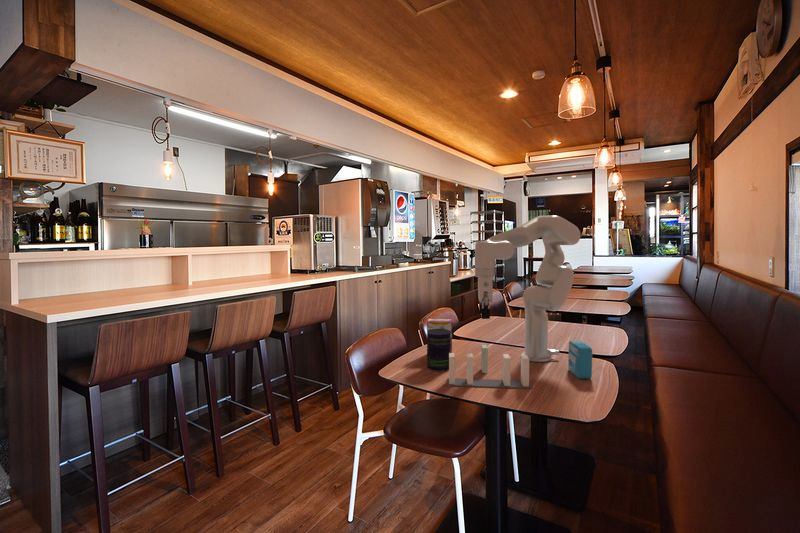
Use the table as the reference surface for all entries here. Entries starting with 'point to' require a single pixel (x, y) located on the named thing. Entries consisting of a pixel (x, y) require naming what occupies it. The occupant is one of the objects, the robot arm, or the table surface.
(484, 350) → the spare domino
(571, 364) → the teal box
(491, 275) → the robot arm
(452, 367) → the domino
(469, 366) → the domino
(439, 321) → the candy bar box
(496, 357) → the table surface
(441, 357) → the storage jar
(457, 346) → the table surface
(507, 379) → the domino
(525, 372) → the domino
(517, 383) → the mat
